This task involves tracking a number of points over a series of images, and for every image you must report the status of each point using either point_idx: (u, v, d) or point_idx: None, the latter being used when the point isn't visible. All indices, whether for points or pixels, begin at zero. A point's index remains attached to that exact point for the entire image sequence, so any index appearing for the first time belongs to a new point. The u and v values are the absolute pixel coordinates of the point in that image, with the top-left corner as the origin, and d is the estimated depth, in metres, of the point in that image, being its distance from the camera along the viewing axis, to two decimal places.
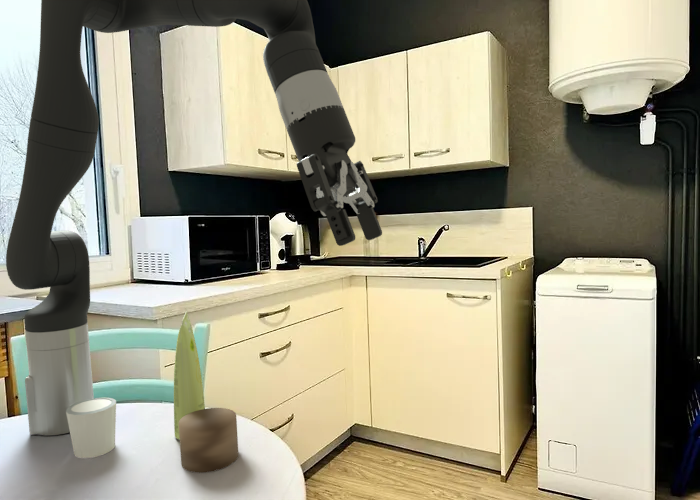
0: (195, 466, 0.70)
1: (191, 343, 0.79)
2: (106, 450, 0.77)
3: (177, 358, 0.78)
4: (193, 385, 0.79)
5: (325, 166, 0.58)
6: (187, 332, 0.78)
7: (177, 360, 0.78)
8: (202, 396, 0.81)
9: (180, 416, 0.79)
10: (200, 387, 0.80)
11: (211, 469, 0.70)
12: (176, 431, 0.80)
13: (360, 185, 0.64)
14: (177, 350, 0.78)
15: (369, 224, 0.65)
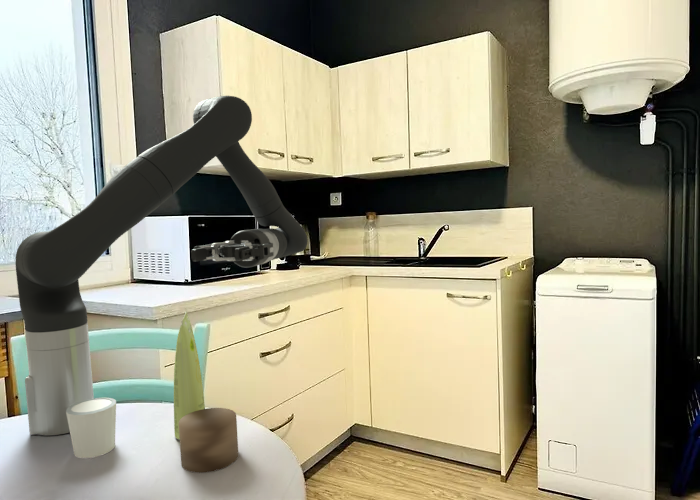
0: (195, 466, 0.70)
1: (191, 343, 0.79)
2: (106, 450, 0.77)
3: (177, 358, 0.78)
4: (192, 385, 0.79)
5: None
6: (187, 332, 0.78)
7: (177, 360, 0.78)
8: (202, 396, 0.81)
9: (180, 416, 0.79)
10: (200, 387, 0.80)
11: (211, 469, 0.70)
12: (176, 431, 0.80)
13: (222, 259, 0.97)
14: (177, 350, 0.78)
15: (200, 255, 0.93)
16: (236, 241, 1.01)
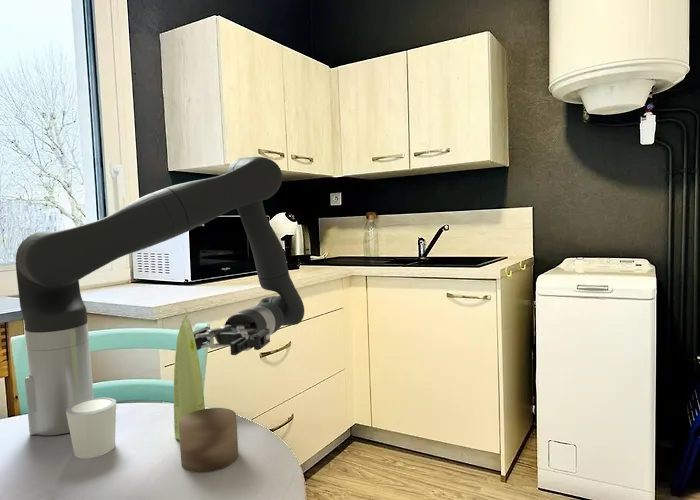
0: (195, 466, 0.70)
1: (191, 343, 0.79)
2: (106, 450, 0.77)
3: (177, 358, 0.78)
4: (192, 385, 0.79)
5: None
6: (187, 332, 0.78)
7: (177, 360, 0.78)
8: (202, 396, 0.81)
9: (180, 416, 0.79)
10: (200, 387, 0.80)
11: (211, 469, 0.70)
12: (176, 431, 0.80)
13: (217, 346, 0.95)
14: (177, 350, 0.78)
15: None
16: (232, 324, 0.99)
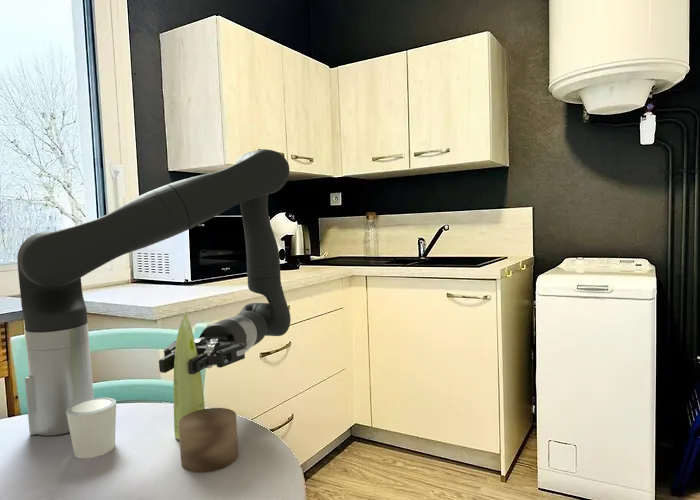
0: (195, 466, 0.70)
1: (190, 343, 0.79)
2: (106, 450, 0.77)
3: (176, 357, 0.78)
4: (192, 385, 0.79)
5: None
6: (186, 332, 0.78)
7: (176, 360, 0.78)
8: (202, 396, 0.81)
9: (179, 416, 0.79)
10: (200, 387, 0.80)
11: (211, 469, 0.70)
12: (176, 431, 0.80)
13: None
14: (176, 350, 0.78)
15: (170, 363, 0.80)
16: (207, 336, 0.90)
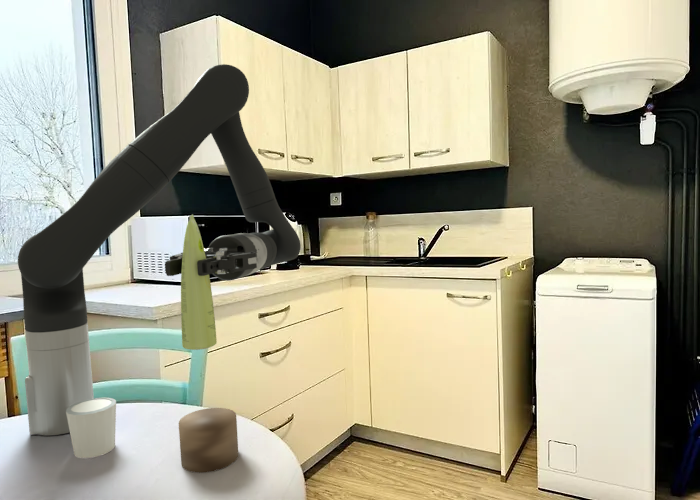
0: (195, 466, 0.70)
1: (199, 243, 0.72)
2: (106, 450, 0.77)
3: (184, 258, 0.72)
4: (202, 289, 0.73)
5: None
6: (195, 229, 0.71)
7: (184, 261, 0.72)
8: (212, 303, 0.75)
9: (188, 323, 0.73)
10: (209, 293, 0.74)
11: (211, 469, 0.70)
12: (184, 340, 0.74)
13: None
14: (184, 250, 0.72)
15: (177, 267, 0.74)
16: (215, 249, 0.84)
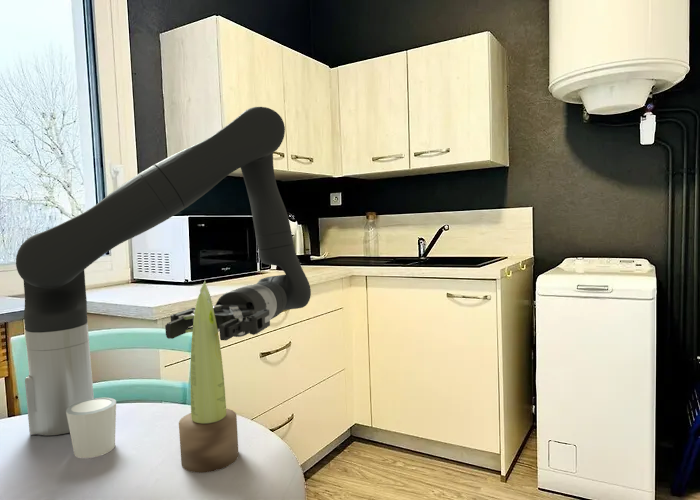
0: (195, 466, 0.70)
1: (210, 315, 0.70)
2: (106, 450, 0.77)
3: (194, 331, 0.70)
4: (212, 362, 0.71)
5: None
6: (206, 302, 0.69)
7: (195, 333, 0.70)
8: (222, 375, 0.73)
9: (197, 396, 0.71)
10: (220, 364, 0.72)
11: (211, 469, 0.70)
12: (193, 413, 0.72)
13: None
14: (195, 322, 0.70)
15: (178, 329, 0.73)
16: (224, 304, 0.82)
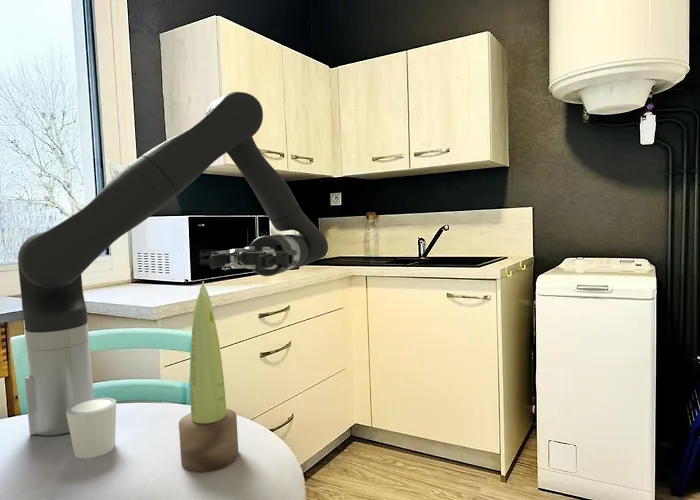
0: (195, 466, 0.70)
1: (210, 314, 0.70)
2: (106, 450, 0.77)
3: (194, 330, 0.70)
4: (212, 362, 0.71)
5: None
6: (206, 302, 0.69)
7: (194, 333, 0.70)
8: (222, 374, 0.73)
9: (197, 396, 0.71)
10: (220, 364, 0.72)
11: (211, 469, 0.70)
12: (193, 413, 0.72)
13: (241, 267, 0.89)
14: (194, 322, 0.70)
15: (219, 261, 0.85)
16: (256, 247, 0.94)
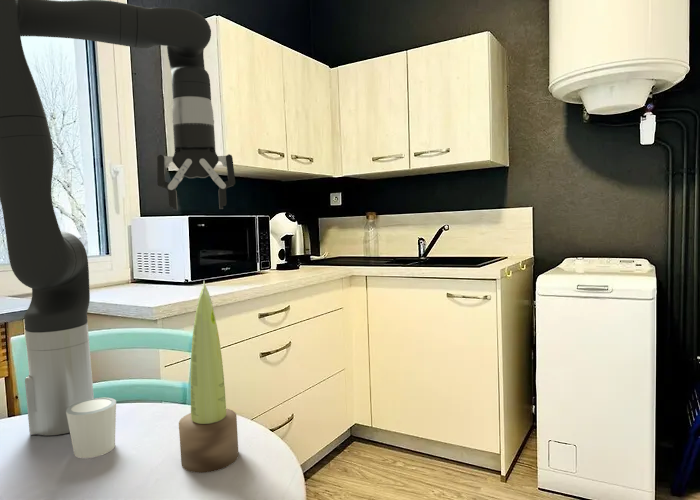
0: (195, 466, 0.70)
1: (212, 315, 0.70)
2: (106, 450, 0.77)
3: (196, 331, 0.70)
4: (213, 362, 0.71)
5: None
6: (208, 302, 0.69)
7: (196, 333, 0.70)
8: (222, 375, 0.73)
9: (198, 397, 0.71)
10: (220, 364, 0.72)
11: (211, 469, 0.70)
12: (193, 413, 0.72)
13: (184, 175, 0.99)
14: (196, 322, 0.70)
15: (176, 200, 0.98)
16: (186, 148, 0.96)
